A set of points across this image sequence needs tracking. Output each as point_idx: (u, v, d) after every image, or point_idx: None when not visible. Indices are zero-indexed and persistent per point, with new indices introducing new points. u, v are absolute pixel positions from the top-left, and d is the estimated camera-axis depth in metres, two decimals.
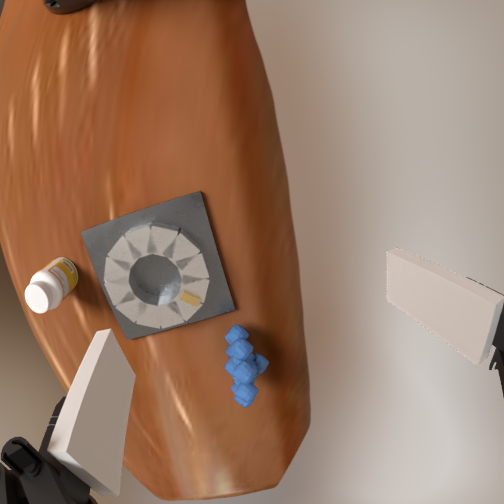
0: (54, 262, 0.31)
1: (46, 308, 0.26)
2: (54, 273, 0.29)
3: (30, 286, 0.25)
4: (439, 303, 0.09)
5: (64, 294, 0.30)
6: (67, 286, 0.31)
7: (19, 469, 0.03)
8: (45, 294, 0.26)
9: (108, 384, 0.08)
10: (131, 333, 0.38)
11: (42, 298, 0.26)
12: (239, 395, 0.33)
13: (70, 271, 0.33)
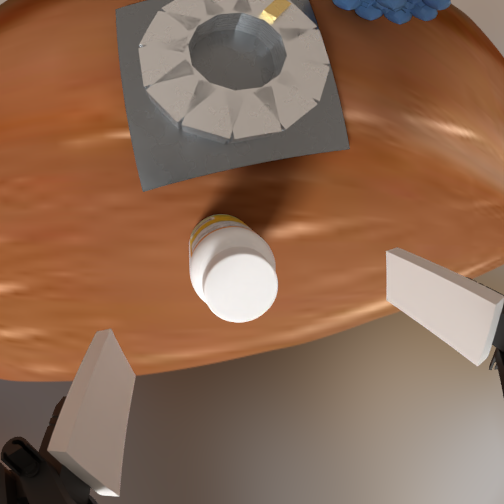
0: None
1: (266, 264, 0.14)
2: (198, 241, 0.17)
3: (208, 298, 0.14)
4: (439, 303, 0.09)
5: (247, 228, 0.18)
6: (233, 222, 0.18)
7: (19, 469, 0.03)
8: (230, 256, 0.14)
9: (108, 384, 0.08)
10: (338, 135, 0.22)
11: (241, 270, 0.14)
12: None
13: (210, 220, 0.20)
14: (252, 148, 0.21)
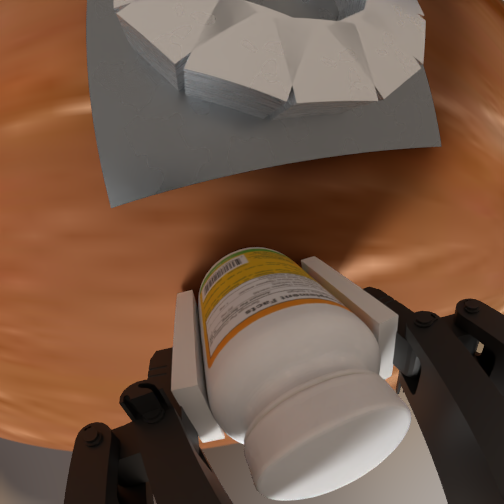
0: (200, 325, 0.10)
1: (402, 413, 0.04)
2: (225, 333, 0.07)
3: (265, 490, 0.04)
4: None
5: (329, 297, 0.08)
6: (295, 280, 0.09)
7: (135, 414, 0.06)
8: (335, 424, 0.04)
9: (200, 335, 0.11)
10: (428, 124, 0.12)
11: (351, 440, 0.04)
12: None
13: (240, 264, 0.11)
14: (312, 130, 0.11)
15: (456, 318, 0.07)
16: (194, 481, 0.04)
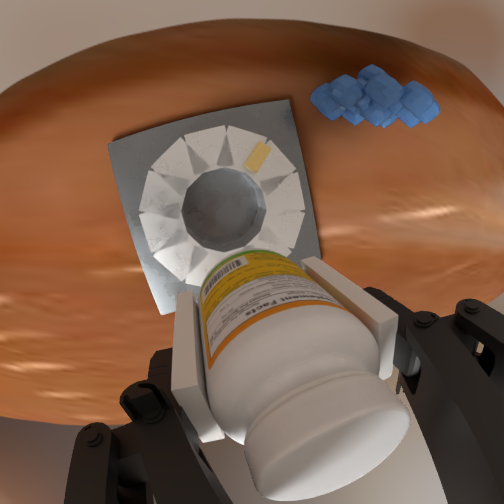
0: (200, 326, 0.10)
1: (401, 414, 0.04)
2: (225, 334, 0.07)
3: (265, 490, 0.04)
4: None
5: (329, 299, 0.08)
6: (295, 281, 0.09)
7: (135, 414, 0.06)
8: (334, 425, 0.04)
9: (200, 335, 0.11)
10: None
11: (350, 441, 0.04)
12: (421, 108, 0.17)
13: (240, 266, 0.11)
14: None
15: (456, 318, 0.07)
16: (194, 481, 0.04)
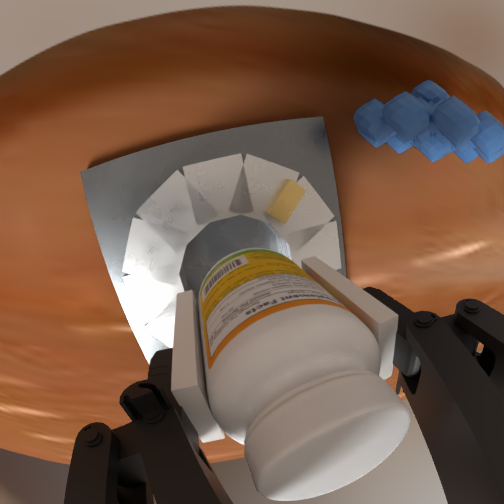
0: (200, 326, 0.10)
1: (402, 414, 0.04)
2: (225, 333, 0.07)
3: (265, 490, 0.04)
4: None
5: (329, 298, 0.08)
6: (295, 280, 0.09)
7: (135, 414, 0.06)
8: (335, 425, 0.04)
9: (200, 335, 0.11)
10: None
11: (351, 440, 0.04)
12: (495, 149, 0.11)
13: (240, 265, 0.11)
14: None
15: (456, 318, 0.07)
16: (194, 481, 0.04)
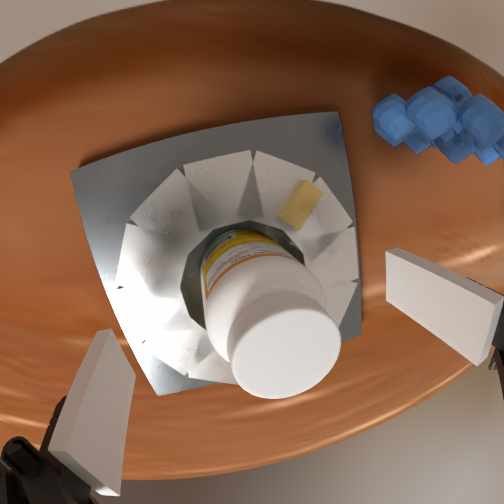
0: (201, 283, 0.15)
1: (328, 322, 0.09)
2: (217, 276, 0.11)
3: (239, 374, 0.09)
4: (438, 303, 0.09)
5: (288, 255, 0.12)
6: (266, 245, 0.13)
7: (19, 469, 0.03)
8: (276, 313, 0.08)
9: (108, 384, 0.08)
10: (352, 325, 0.21)
11: (291, 333, 0.08)
12: None
13: (230, 238, 0.15)
14: None
15: None
16: None
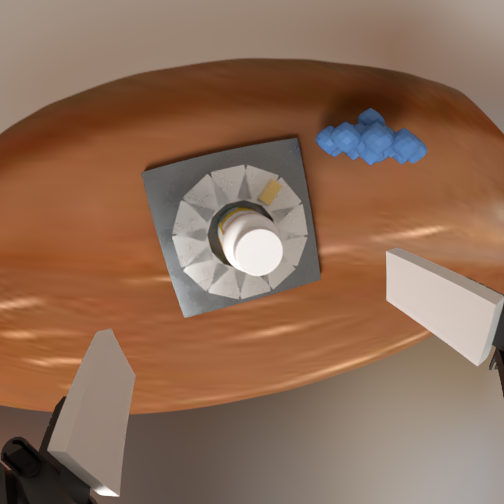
0: (219, 233, 0.28)
1: (275, 236, 0.22)
2: (228, 223, 0.25)
3: (238, 258, 0.22)
4: (439, 303, 0.09)
5: (261, 215, 0.26)
6: (252, 211, 0.26)
7: (19, 469, 0.03)
8: (252, 230, 0.22)
9: (108, 384, 0.08)
10: (312, 272, 0.35)
11: (259, 239, 0.22)
12: (408, 154, 0.22)
13: (234, 210, 0.28)
14: None
15: None
16: None
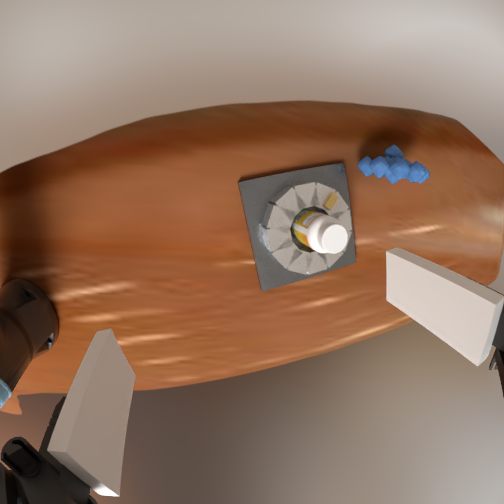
0: (297, 228, 0.41)
1: (344, 229, 0.35)
2: (310, 221, 0.38)
3: (323, 242, 0.35)
4: (439, 303, 0.09)
5: None
6: (321, 213, 0.39)
7: (19, 469, 0.03)
8: (332, 225, 0.34)
9: (108, 384, 0.08)
10: (351, 256, 0.47)
11: (335, 231, 0.35)
12: (418, 178, 0.35)
13: (306, 212, 0.41)
14: None
15: None
16: None
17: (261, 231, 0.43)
